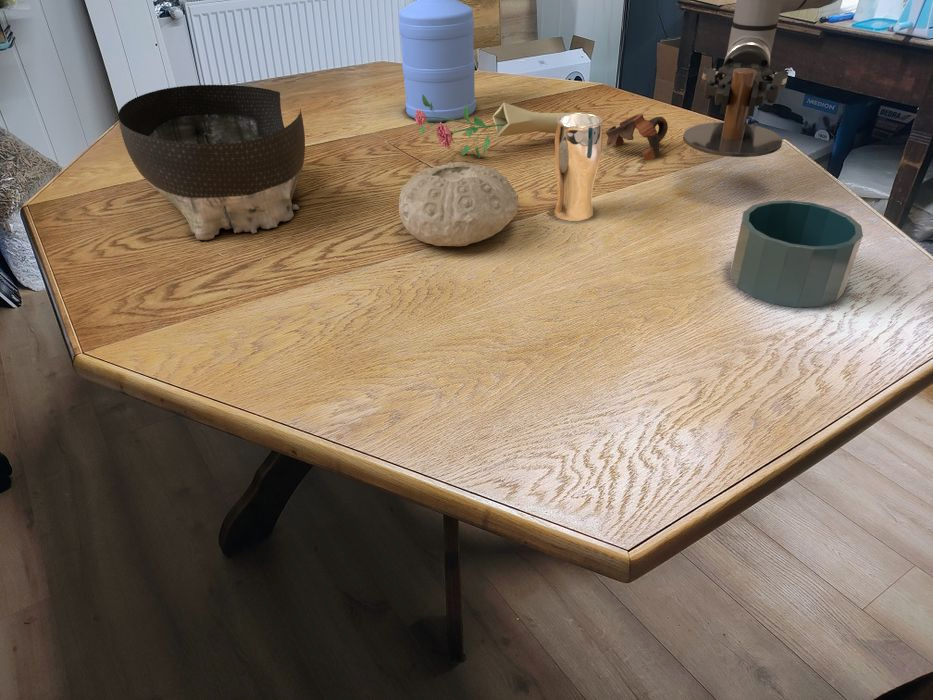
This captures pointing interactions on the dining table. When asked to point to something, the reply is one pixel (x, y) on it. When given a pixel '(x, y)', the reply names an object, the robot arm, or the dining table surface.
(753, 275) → the pot
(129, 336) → the dining table surface
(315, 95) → the dining table surface
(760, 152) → the lid
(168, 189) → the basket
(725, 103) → the robot arm
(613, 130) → the twisted brown loop sculpture
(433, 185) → the decorative shell
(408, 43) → the water jug
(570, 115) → the beer glass
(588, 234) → the dining table surface
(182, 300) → the dining table surface
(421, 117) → the flower vase
